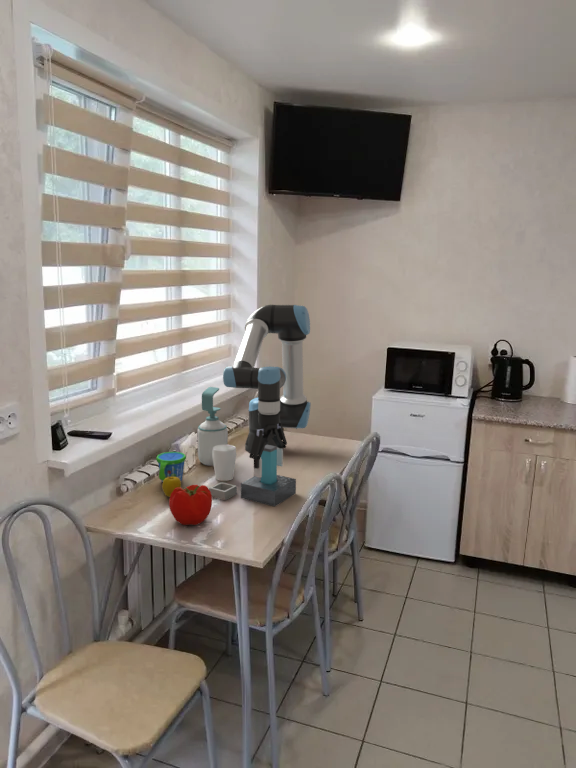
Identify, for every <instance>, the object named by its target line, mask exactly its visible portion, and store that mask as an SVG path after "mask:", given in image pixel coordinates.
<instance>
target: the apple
mask: <svg viewBox="0 0 576 768" xmlns="http://www.w3.org/2000/svg"><path fill="white" fill-rule="evenodd" d="M178 487H180V488H182V481H180V479H179V478H178V477H169V476H168V477H167V478H165V479H164V481H163V483H162V488H161V489H162V491H163V493H164V495H165V496H166V497H169V498H170V496H171V493H172V492H173V490H174V489H175V488H178Z"/></svg>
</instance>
